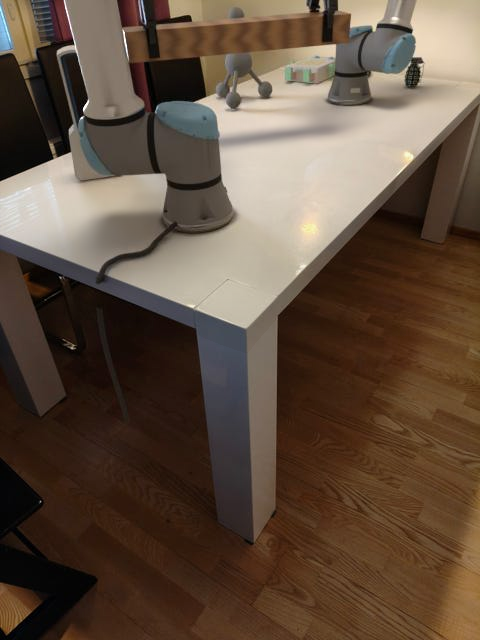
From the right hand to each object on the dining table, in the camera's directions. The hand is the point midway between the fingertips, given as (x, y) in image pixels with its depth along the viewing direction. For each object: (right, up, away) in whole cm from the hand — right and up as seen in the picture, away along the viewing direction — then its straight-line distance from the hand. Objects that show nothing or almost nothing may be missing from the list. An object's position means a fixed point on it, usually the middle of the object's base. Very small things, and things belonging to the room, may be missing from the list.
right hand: (320, 39), depth 136 cm
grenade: (+44, +11, +52) cm, 69 cm away
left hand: (-45, -8, -7) cm, 47 cm away
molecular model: (-20, +4, +48) cm, 52 cm away
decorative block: (+8, +25, +73) cm, 77 cm away
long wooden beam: (-23, -5, -3) cm, 23 cm away
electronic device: (-60, -39, -5) cm, 72 cm away
